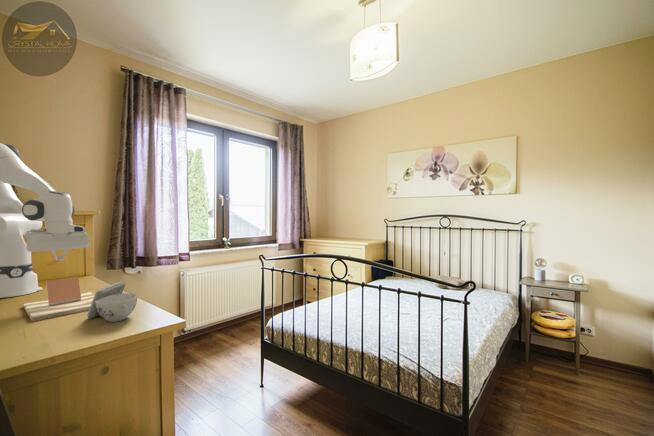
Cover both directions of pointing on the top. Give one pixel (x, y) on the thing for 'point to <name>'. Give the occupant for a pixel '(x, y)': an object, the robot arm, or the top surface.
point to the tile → (63, 290)
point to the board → (57, 307)
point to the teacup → (116, 306)
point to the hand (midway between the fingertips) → (60, 260)
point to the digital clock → (102, 293)
